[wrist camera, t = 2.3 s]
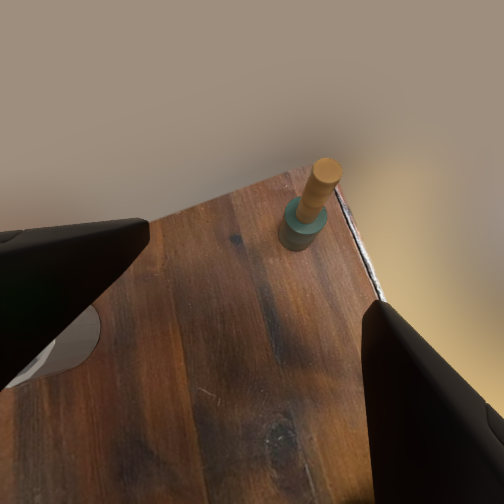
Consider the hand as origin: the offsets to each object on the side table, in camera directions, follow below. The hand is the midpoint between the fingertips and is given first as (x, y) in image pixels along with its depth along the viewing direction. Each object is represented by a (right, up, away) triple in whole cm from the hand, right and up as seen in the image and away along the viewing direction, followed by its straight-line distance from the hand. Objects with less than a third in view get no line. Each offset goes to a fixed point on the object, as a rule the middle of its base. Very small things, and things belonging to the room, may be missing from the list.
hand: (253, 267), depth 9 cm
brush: (+5, +2, +15) cm, 16 cm away
